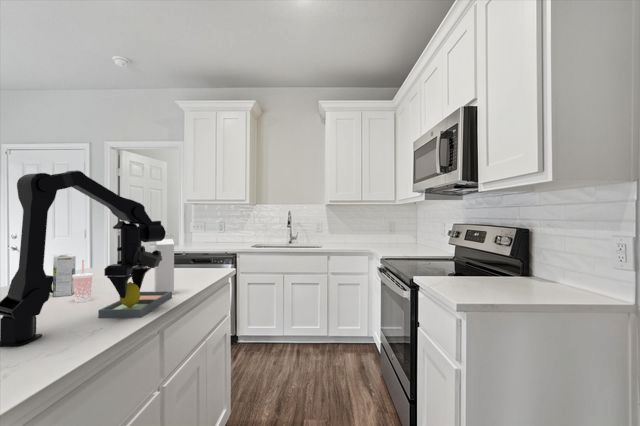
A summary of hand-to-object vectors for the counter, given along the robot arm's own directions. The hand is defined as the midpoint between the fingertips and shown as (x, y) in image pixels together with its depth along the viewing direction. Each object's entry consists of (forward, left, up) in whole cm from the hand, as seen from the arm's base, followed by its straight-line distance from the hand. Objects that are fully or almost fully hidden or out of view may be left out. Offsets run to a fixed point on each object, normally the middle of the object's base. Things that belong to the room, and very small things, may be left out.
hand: (130, 294), depth 107 cm
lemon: (0, 0, -4) cm, 4 cm away
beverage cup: (+15, +23, -6) cm, 28 cm away
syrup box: (+24, +35, -6) cm, 43 cm away
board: (+6, 0, -5) cm, 8 cm away
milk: (+24, -1, -6) cm, 24 cm away
